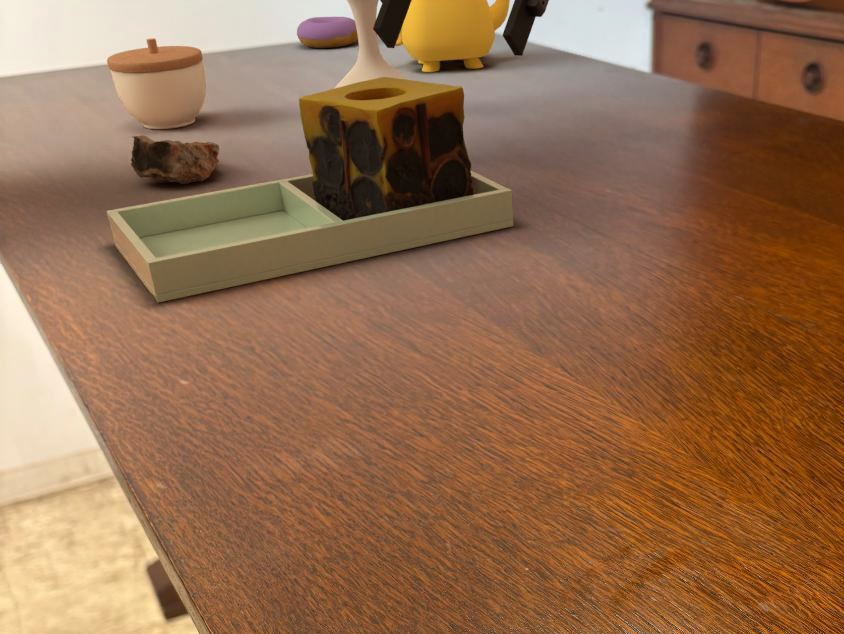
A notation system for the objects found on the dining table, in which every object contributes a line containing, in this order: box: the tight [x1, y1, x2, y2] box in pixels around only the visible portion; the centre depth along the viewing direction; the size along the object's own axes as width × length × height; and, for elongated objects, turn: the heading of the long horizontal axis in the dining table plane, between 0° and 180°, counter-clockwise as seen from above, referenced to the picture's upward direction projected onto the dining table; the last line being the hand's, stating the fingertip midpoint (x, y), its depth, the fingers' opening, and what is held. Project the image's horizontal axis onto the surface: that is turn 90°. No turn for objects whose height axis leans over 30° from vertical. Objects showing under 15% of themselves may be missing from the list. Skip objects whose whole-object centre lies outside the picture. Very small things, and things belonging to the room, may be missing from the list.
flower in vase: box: [333, 0, 409, 89], centre depth 123 cm, size 13×11×25 cm
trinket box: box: [106, 37, 207, 130], centre depth 129 cm, size 11×11×9 cm
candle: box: [298, 77, 474, 221], centre depth 93 cm, size 10×10×10 cm
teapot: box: [395, 0, 510, 73], centre depth 152 cm, size 14×20×13 cm
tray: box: [106, 170, 514, 304], centre depth 92 cm, size 16×30×3 cm, turn 119°
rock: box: [130, 135, 220, 185], centre depth 110 cm, size 9×6×10 cm
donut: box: [296, 16, 358, 49], centre depth 172 cm, size 10×9×5 cm
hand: (445, 42), depth 96 cm, fingers open, 13 cm apart
